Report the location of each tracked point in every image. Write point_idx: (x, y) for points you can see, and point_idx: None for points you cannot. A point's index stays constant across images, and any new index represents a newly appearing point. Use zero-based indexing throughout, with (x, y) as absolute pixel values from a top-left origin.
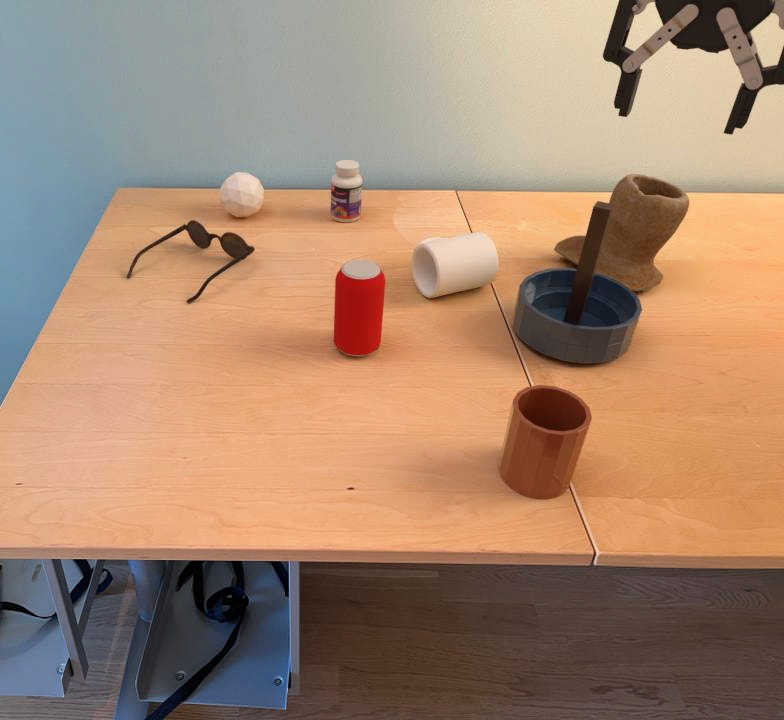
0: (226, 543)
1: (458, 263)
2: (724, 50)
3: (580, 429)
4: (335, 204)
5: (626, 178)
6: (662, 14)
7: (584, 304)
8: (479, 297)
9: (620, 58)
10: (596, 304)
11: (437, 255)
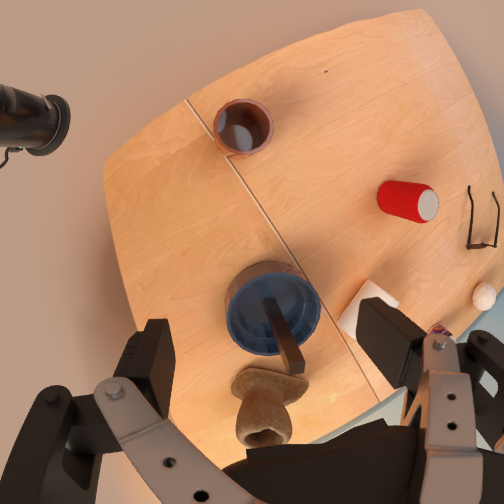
0: (351, 23)
1: None
2: (230, 465)
3: (217, 115)
4: (444, 328)
5: (287, 437)
6: (488, 450)
7: (268, 312)
8: (338, 305)
9: (459, 352)
10: (261, 335)
11: (386, 295)
